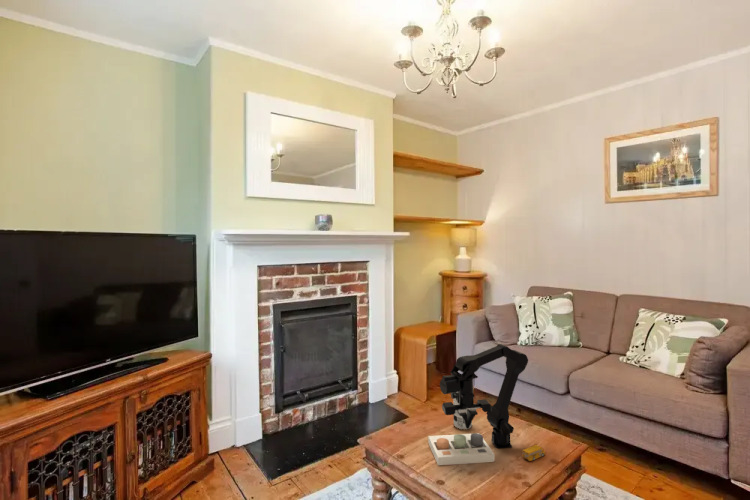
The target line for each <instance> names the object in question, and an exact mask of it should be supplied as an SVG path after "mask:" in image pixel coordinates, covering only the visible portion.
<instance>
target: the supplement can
mask: <svg viewBox="0 0 750 500" xmlns="http://www.w3.org/2000/svg"><path fill="white" fill-rule="evenodd" d="M452 400H453V401H452V403H453V405H459V403H458V402H457V400H456V399H452ZM455 412H456V413H455V414H454V415H453V425H454V426H455V428H456V429H458V428H459V430H462V429H466V430H469V429H471V428H472V426H473V421H472V422H471V424H470V426H469V428H466V426H465V423H464V421H463V418H462V416H460V415H459V414H458V412H457V411H456V410H455ZM465 412H466V413H467V410H465Z"/></svg>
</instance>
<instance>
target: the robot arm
mask: <svg viewBox="0 0 750 500" xmlns="http://www.w3.org/2000/svg"><path fill="white" fill-rule="evenodd" d="M503 357H504V358H505V367H506V368H505V369H506V372H505V375H504V378H503V381H502V384H501V387H500V390H499V392H498V396H497V399H496V401H495V403H494V404H493V405H492V404H490V402H489V401H488V399H477V401H476V403H475V401H474V398H475V393H474V379H478V377H479V375H477V374H476V372H478V370H479V369H480V368H481V367H482V366H484V365H487V364H488V363H491V362H493V361H496V360H499V359H500V358H503ZM528 363H529V358H528V356H527V354H525V353H523V352H520V351H518V350H515V349H511V348H510V347H508V345H507V346H506V345H504V344H497V345H495V346H494V347H491V348H489V349H486V350H484V351H481V352H480V353H476V354H473V355H463V356H459V357H458V358H457V359H456V361H455V364H454V366H453V367H452V369H451V370H450V373H449V374H450V375H442V376H441V377H442V378H441V379H440V381H439V387H440V391H441V393H442V394H443V395H448V394H449V395H450V397H451V399H452V400H453V399H456V400H457V402H458V403H459V405H453V401H447V402H443V403H442V404H441V408H442V411H443V412H444V415H446V416H454V414H455V413H456V412H455V410H456V411H457V412H458V414H459V415H460V416H462V418H463V421H464V423H465V426H466V428H469V426H470V424H471V422H472V423H473V420H474V418H475V417H476V416H477V415H478V411H477V409H481V410H482V411H483V413H485V414H486V419H487V422H488V423H489V424H490V426H491V427H492V431H491V439H490V440H491V443H492V444H493V445H494V447H496V448H497V449H504V448H512V447H513V445H512V444H511V434H513V433H514V429H515V428H514V427H513V425H512V424H510V423H509V420H510V413H509V406H510V403H511V400H512V397H513V394H514V391H515V387H516V384H517V382H518V379H519V376H520V374H522V373H523V372H524V371H525V369H526V368H527V365H528ZM460 372H461V373H460ZM465 410H467V413H466V412H465ZM469 429H470V428H469Z"/></svg>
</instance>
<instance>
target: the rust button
mask: <svg viewBox="0 0 750 500" xmlns="http://www.w3.org/2000/svg"><path fill="white" fill-rule="evenodd" d="M437 450H449V441H448V440H447V439H445V438H439V439H437Z"/></svg>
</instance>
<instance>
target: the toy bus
mask: <svg viewBox="0 0 750 500" xmlns="http://www.w3.org/2000/svg"><path fill="white" fill-rule="evenodd" d="M545 455H546V452H545V450H544V449H543V448H542V446H540V445H538V444H534V445H532V446H529V447H527V448H525V449H522V455H521V456H522V458H523V459H525V460H527V461H529V462H531V461H532V462H533V461H535V460H537V459H539V458H541V457H544V456H545Z"/></svg>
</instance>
